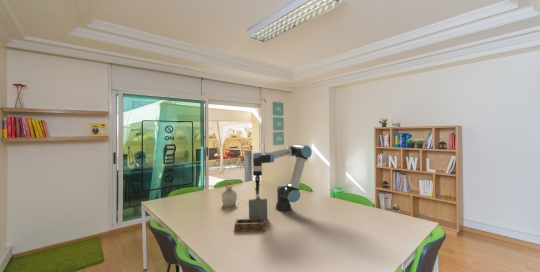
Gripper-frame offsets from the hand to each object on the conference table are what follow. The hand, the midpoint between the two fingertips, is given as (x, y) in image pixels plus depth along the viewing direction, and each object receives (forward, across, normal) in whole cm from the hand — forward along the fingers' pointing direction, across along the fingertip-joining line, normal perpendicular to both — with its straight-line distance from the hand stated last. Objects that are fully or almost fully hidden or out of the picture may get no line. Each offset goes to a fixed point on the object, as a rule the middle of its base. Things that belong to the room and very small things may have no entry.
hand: (257, 195), depth 199 cm
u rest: (+21, +17, -6) cm, 28 cm away
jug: (+21, -43, -31) cm, 57 cm away
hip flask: (+21, 0, 0) cm, 21 cm away
